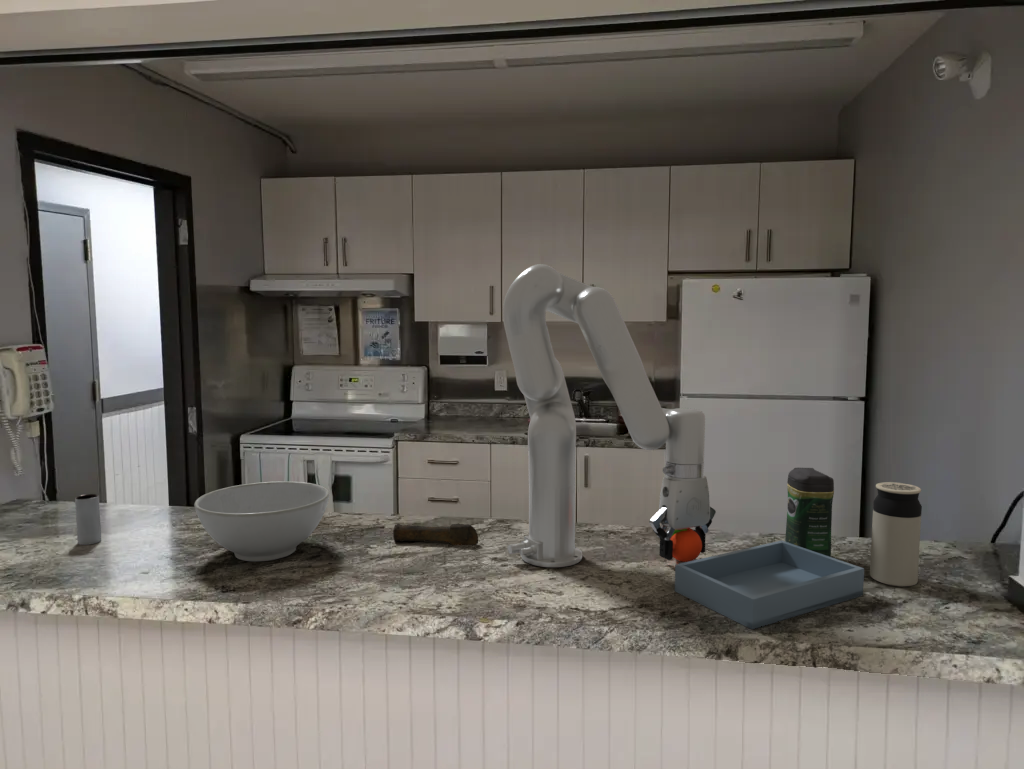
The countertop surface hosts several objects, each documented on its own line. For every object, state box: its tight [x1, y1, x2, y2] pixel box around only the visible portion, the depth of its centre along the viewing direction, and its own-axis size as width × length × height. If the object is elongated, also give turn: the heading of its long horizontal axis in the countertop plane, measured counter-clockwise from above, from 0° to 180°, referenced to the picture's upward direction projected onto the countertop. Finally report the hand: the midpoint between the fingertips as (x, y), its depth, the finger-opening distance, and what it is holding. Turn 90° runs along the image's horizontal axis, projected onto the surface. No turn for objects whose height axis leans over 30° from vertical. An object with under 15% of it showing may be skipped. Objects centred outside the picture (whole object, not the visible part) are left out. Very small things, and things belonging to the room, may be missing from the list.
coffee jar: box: [784, 467, 835, 557], centre depth 145 cm, size 10×8×19 cm
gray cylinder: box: [74, 493, 102, 546], centre depth 156 cm, size 4×4×10 cm
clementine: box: [670, 528, 702, 563], centre depth 143 cm, size 8×7×7 cm
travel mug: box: [869, 481, 922, 588], centre depth 133 cm, size 8×8×18 cm
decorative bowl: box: [193, 480, 330, 562], centre depth 149 cm, size 27×27×12 cm
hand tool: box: [392, 523, 479, 546], centre depth 155 cm, size 19×4×5 cm, turn 78°
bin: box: [674, 540, 865, 630], centre depth 127 cm, size 28×18×5 cm, turn 119°
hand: (682, 554), depth 143 cm, fingers closed on clementine, 8 cm apart
